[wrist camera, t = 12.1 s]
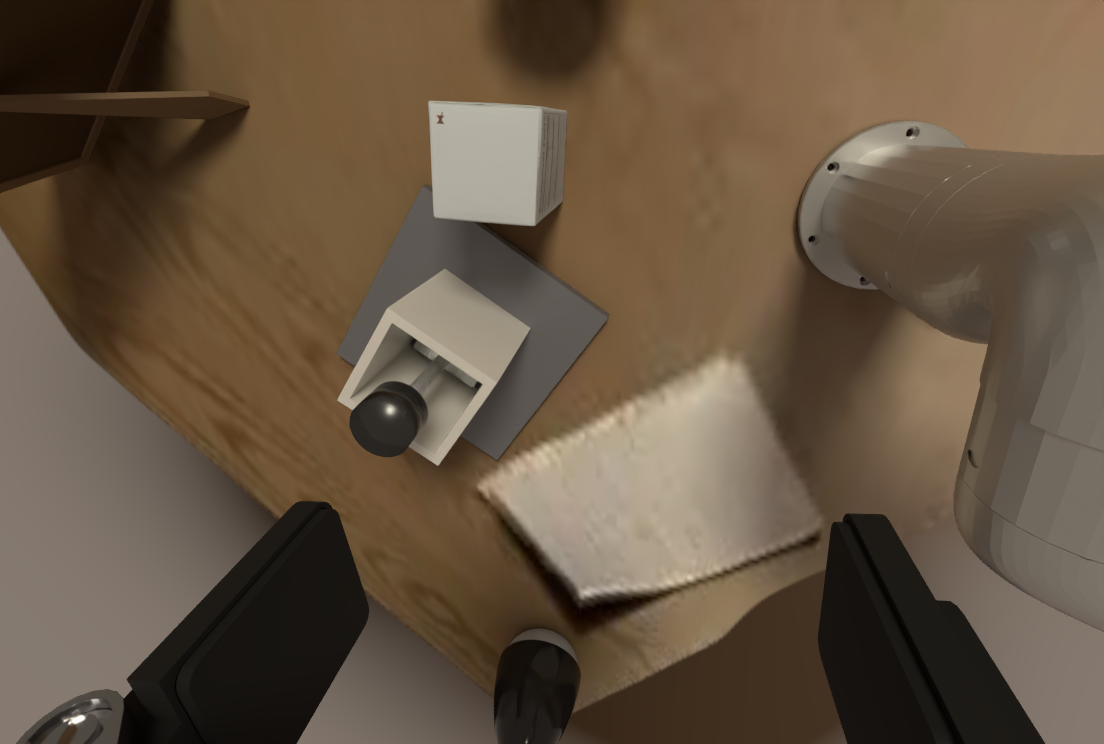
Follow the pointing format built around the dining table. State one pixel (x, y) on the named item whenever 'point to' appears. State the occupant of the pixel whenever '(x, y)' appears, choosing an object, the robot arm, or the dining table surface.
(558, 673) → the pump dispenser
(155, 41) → the dining table surface
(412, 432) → the plunger
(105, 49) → the photo frame
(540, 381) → the grey square base
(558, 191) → the supplement box
